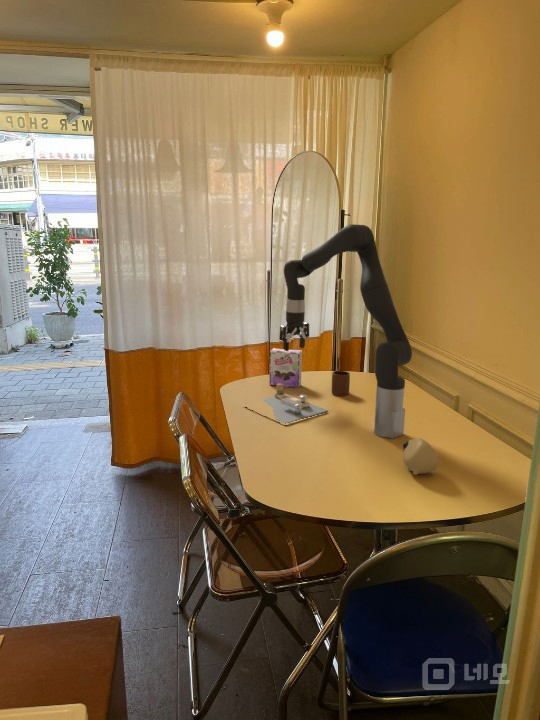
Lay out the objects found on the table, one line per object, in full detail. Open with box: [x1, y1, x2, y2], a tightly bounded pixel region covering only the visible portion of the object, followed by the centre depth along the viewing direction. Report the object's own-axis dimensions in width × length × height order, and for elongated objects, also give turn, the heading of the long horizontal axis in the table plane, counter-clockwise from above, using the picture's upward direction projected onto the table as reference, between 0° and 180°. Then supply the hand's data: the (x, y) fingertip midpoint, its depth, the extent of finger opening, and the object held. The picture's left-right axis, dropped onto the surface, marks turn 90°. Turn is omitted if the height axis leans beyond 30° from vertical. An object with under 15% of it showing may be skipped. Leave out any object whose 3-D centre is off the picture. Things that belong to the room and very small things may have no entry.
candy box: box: [268, 347, 303, 389], centre depth 226 cm, size 14×6×16 cm, turn 73°
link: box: [274, 383, 310, 408], centre depth 202 cm, size 18×5×6 cm, turn 39°
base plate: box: [260, 392, 329, 424], centre depth 197 cm, size 26×22×1 cm
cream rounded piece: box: [402, 437, 440, 476], centre depth 146 cm, size 10×12×11 cm
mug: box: [331, 369, 351, 397], centre depth 218 cm, size 12×8×9 cm, turn 6°
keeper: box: [281, 394, 308, 415], centre depth 194 cm, size 10×10×4 cm
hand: (294, 349), depth 207 cm, fingers open, 8 cm apart
